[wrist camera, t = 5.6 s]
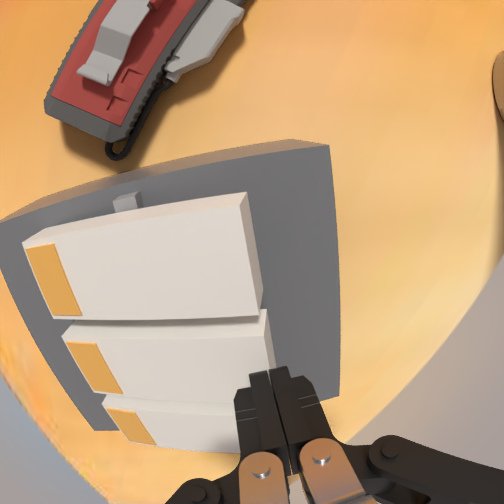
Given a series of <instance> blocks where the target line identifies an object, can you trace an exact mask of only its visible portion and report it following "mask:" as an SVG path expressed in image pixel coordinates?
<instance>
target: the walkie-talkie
mask: <svg viewBox="0 0 504 504" xmlns="http://www.w3.org/2000/svg"><path fill="white" fill-rule="evenodd" d="M245 1H246V0H99V1H98V2H97V4H96V5H95V7H94V8H93V10H92V11H91V13H90V14H89V16H88V19H87V21H86V22H84V24H83V27H82V29H80V30H79V34H78V35H77V37H75V40H74V42H73V44H71V46H70V49H69V51H68V52H67V53H66V57H65V58H64V60H62V64H61V66H60V68H58V72H57V74H56V75H55V76H54V80H53V82H52V83H51V85H50V86H51V87H50V89H49V91H47V96H46V98H45V99H44V108H45V113H46V114H47V115H49V116H52V117H54V118H56V119H58V120H60V121H63V122H65V123H67V124H69V125H72V126H74V127H76V128H78V129H80V130H83V131H85V132H87V133H89V134H91V135H93V136H96V137H98V138H100V139H102V140H104V141H107V142H106V145H105V152H106V155H107V156H108V157H109V158H110V159H111V160H114V161H118V160H121V159H123V158H125V157H126V156H127V155H128V153H129V152H130V151H131V149H132V147H133V145H134V143H135V140H136V138H137V136H138V134H139V132H140V130H141V128H142V126H143V124H144V123H145V121H146V119H147V117H148V115H149V113H150V111H151V109H152V107H153V106H154V104H155V102H156V101H157V99H158V97H159V96H160V94H161V93H162V92H163V91H165V90H166V89H168V88H169V87H170V86H171V85H172V83H173V82H174V83H176V84H177V82H178V80H179V79H180V77H181V75H182V74H184V73H187V72H189V71H191V70H193V69H195V68H198V67H200V66H202V65H205V64H207V63H209V62H210V61H211V60H212V58H213V57H214V55H215V54H216V52H217V51H218V49H219V48H220V46H221V45H222V43H223V42H224V40H225V39H226V37H227V36H228V34H229V33H230V32H231V30H232V29H233V28H234V27H236V26H238V24H239V23H240V21H241V20H242V18H243V15H244V12H245V10H244V9H243V8H241V7H242V5H243V4H244V3H245ZM166 73H167V75H166ZM165 77H166V78H167V80H166V81H165V83H163V84H162V80H163V78H165ZM161 84H162V85H161ZM159 85H161V86H159ZM127 138H129V140H128V142H127V144H126V146H125V148H124V149H123V151H122V152H121V153H120V154H116V153H114V152H113V150H112V147H113V143H114V142H119V141H123V140H125V139H127Z"/></svg>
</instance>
